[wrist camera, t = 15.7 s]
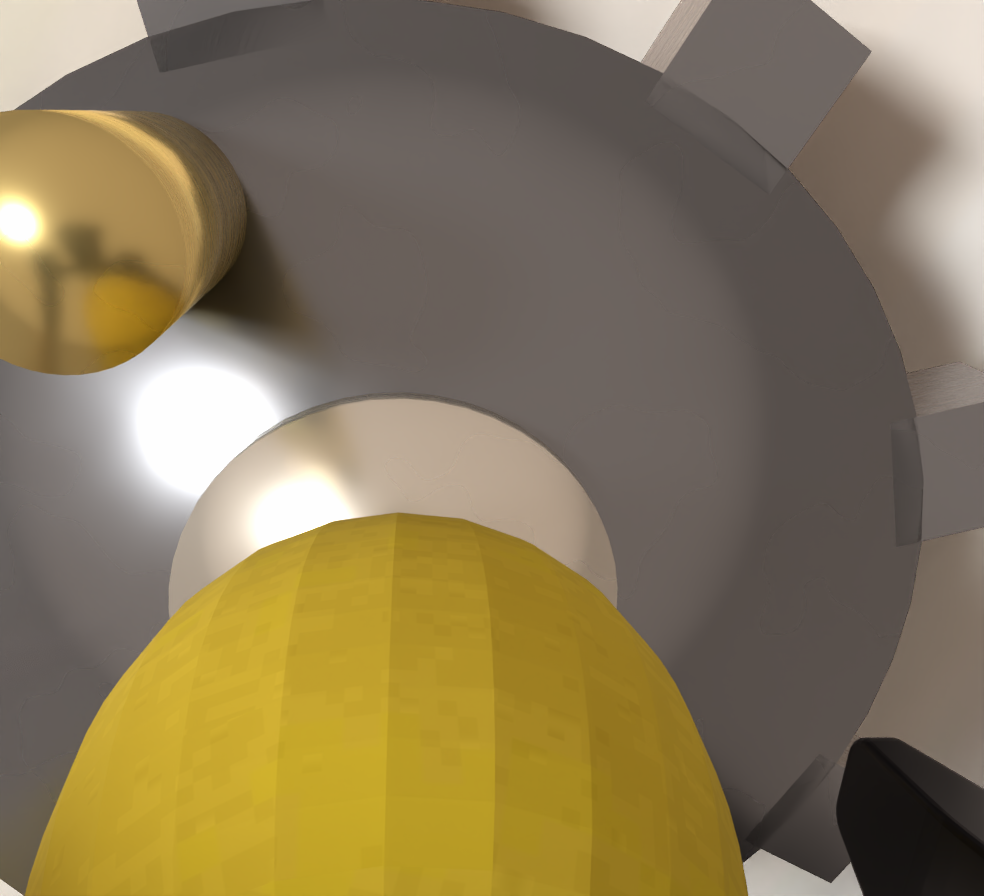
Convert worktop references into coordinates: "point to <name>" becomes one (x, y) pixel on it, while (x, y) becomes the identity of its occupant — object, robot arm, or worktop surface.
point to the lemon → (393, 736)
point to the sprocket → (464, 357)
